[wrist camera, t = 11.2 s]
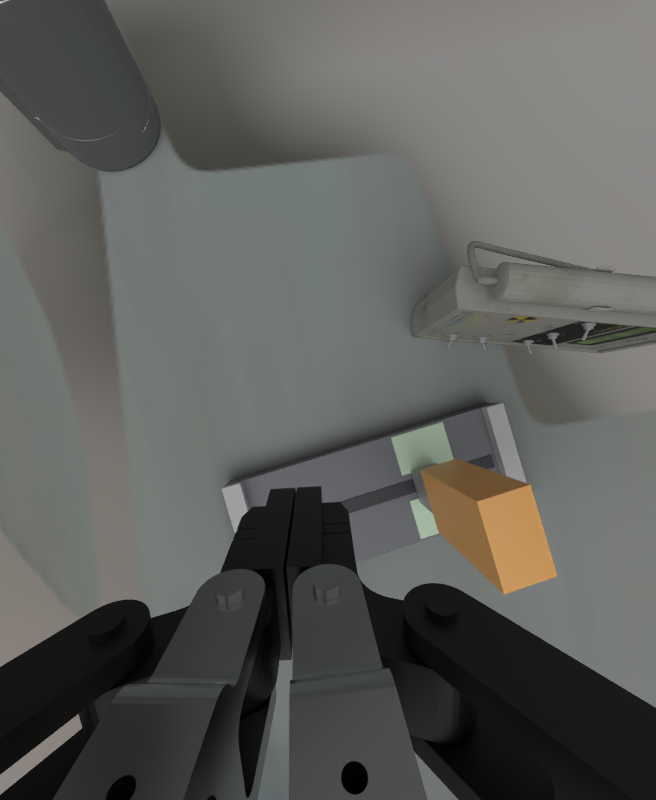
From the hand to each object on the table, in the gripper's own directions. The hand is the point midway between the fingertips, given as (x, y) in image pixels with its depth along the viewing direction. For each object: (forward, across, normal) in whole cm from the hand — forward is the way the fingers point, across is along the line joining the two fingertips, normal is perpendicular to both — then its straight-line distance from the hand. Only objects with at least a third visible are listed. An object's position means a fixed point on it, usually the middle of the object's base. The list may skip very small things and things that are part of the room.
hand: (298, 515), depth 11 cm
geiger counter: (+27, -22, -3) cm, 35 cm away
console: (+22, -5, +11) cm, 26 cm away
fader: (+20, -10, +10) cm, 25 cm away
